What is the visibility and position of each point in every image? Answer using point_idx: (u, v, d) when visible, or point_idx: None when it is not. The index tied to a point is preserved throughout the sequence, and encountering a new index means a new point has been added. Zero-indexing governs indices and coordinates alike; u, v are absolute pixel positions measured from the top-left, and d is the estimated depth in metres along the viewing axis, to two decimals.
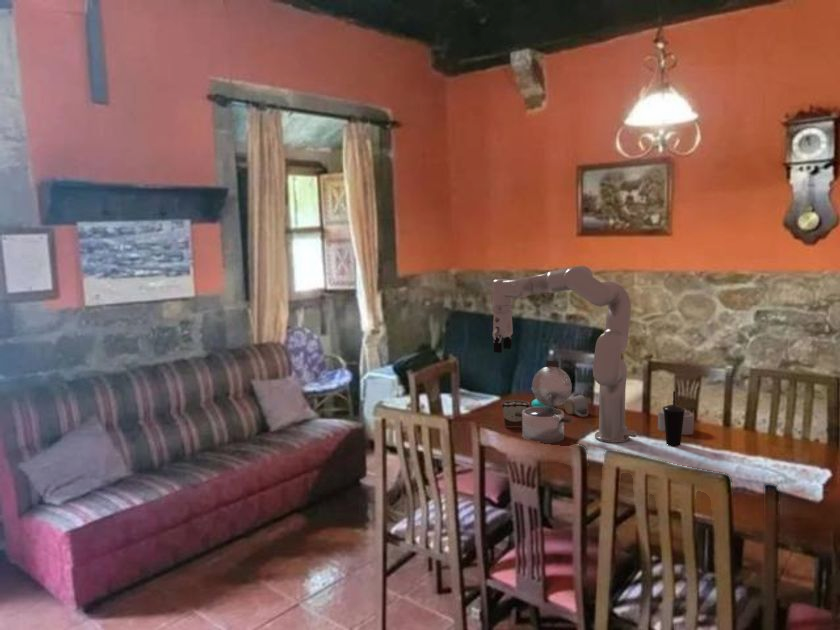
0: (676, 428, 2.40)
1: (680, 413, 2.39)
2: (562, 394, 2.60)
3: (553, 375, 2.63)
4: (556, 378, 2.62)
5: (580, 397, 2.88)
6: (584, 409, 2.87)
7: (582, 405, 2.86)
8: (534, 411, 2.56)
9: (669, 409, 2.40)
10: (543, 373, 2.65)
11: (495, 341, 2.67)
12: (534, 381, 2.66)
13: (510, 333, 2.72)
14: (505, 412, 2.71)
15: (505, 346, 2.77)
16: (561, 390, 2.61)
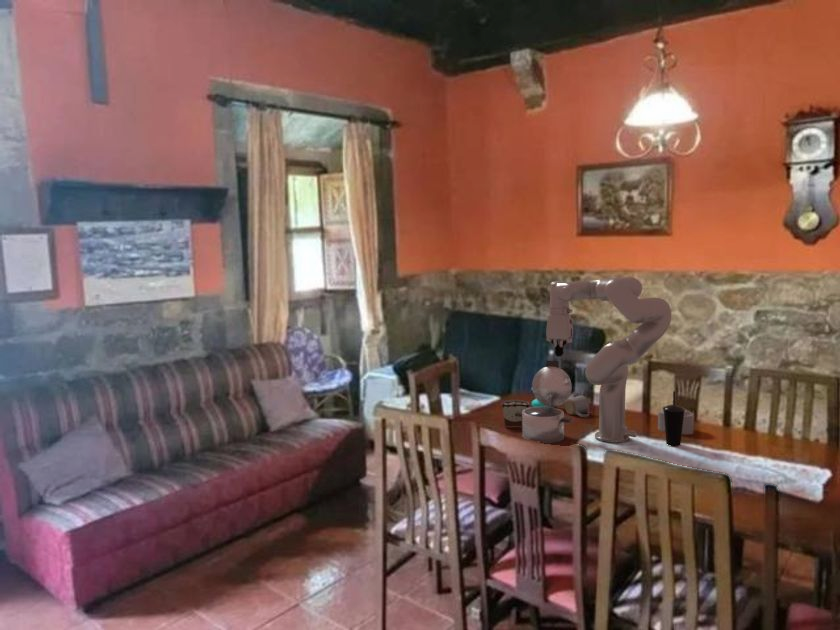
0: (676, 428, 2.40)
1: (680, 413, 2.39)
2: (562, 394, 2.60)
3: (553, 375, 2.63)
4: (556, 378, 2.62)
5: (581, 397, 2.88)
6: (585, 409, 2.86)
7: (583, 405, 2.85)
8: (534, 411, 2.56)
9: (669, 409, 2.40)
10: (543, 373, 2.65)
11: None
12: (534, 381, 2.66)
13: None
14: (505, 412, 2.71)
15: None
16: (561, 390, 2.61)
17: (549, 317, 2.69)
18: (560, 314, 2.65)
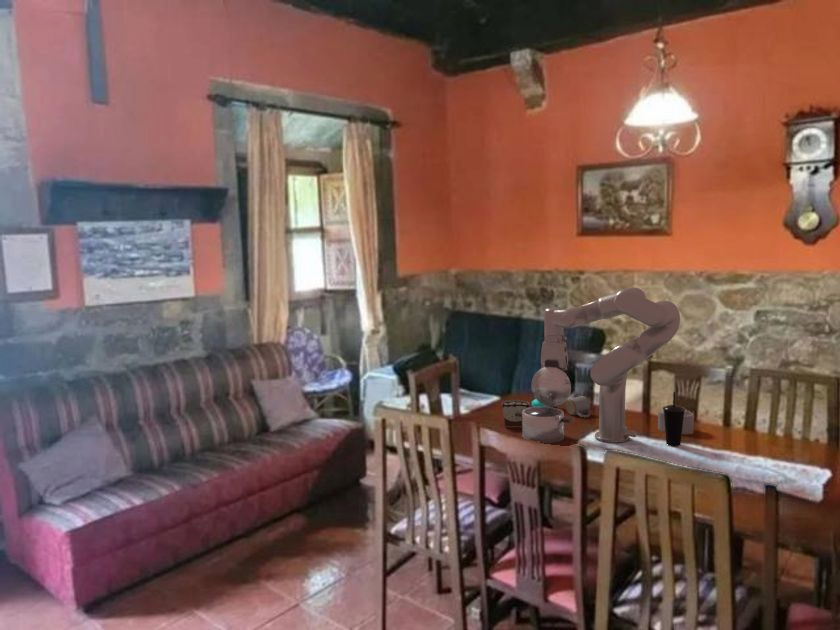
0: (676, 428, 2.40)
1: (680, 413, 2.39)
2: (561, 394, 2.60)
3: (552, 375, 2.61)
4: (555, 378, 2.61)
5: (582, 398, 2.87)
6: (586, 410, 2.86)
7: (584, 406, 2.85)
8: (534, 411, 2.56)
9: (669, 409, 2.40)
10: (542, 373, 2.64)
11: None
12: (533, 381, 2.66)
13: None
14: (505, 412, 2.71)
15: None
16: (560, 390, 2.60)
17: (543, 344, 2.64)
18: (554, 342, 2.60)
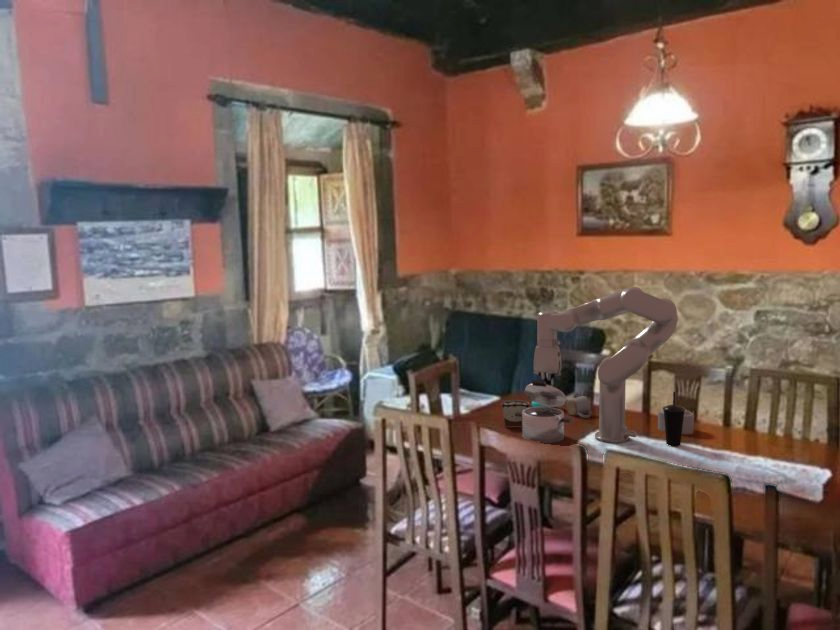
0: (676, 428, 2.40)
1: (680, 413, 2.39)
2: (558, 401, 2.56)
3: (543, 390, 2.53)
4: (547, 392, 2.54)
5: (583, 398, 2.86)
6: (587, 410, 2.85)
7: (585, 406, 2.84)
8: (534, 411, 2.56)
9: (669, 409, 2.40)
10: (533, 389, 2.55)
11: (552, 378, 2.57)
12: (526, 392, 2.59)
13: None
14: (505, 412, 2.71)
15: None
16: (556, 399, 2.56)
17: (536, 349, 2.57)
18: (548, 346, 2.54)
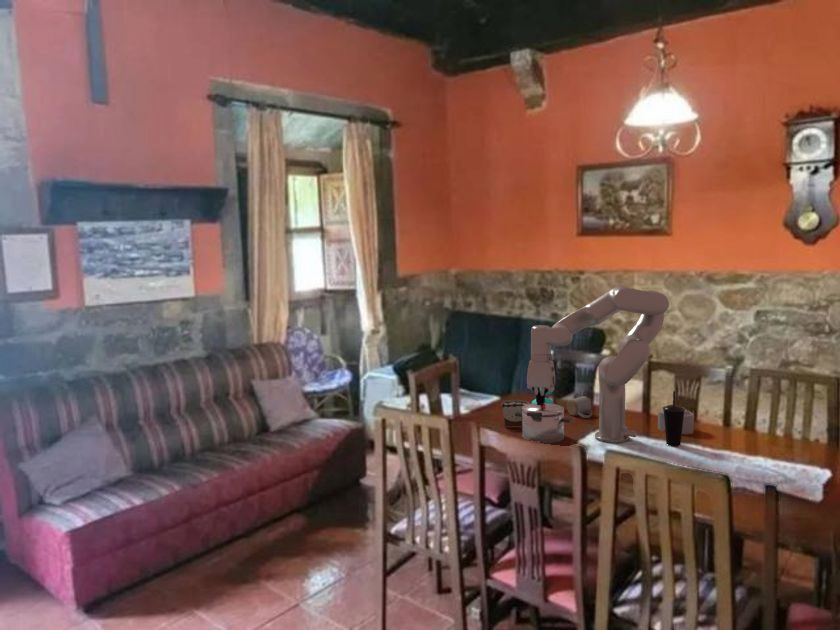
0: (676, 428, 2.40)
1: (680, 413, 2.39)
2: None
3: None
4: None
5: (583, 398, 2.86)
6: (587, 410, 2.85)
7: (585, 406, 2.84)
8: None
9: (669, 409, 2.40)
10: None
11: (545, 393, 2.52)
12: None
13: None
14: (505, 412, 2.71)
15: None
16: None
17: (530, 363, 2.52)
18: (541, 361, 2.48)
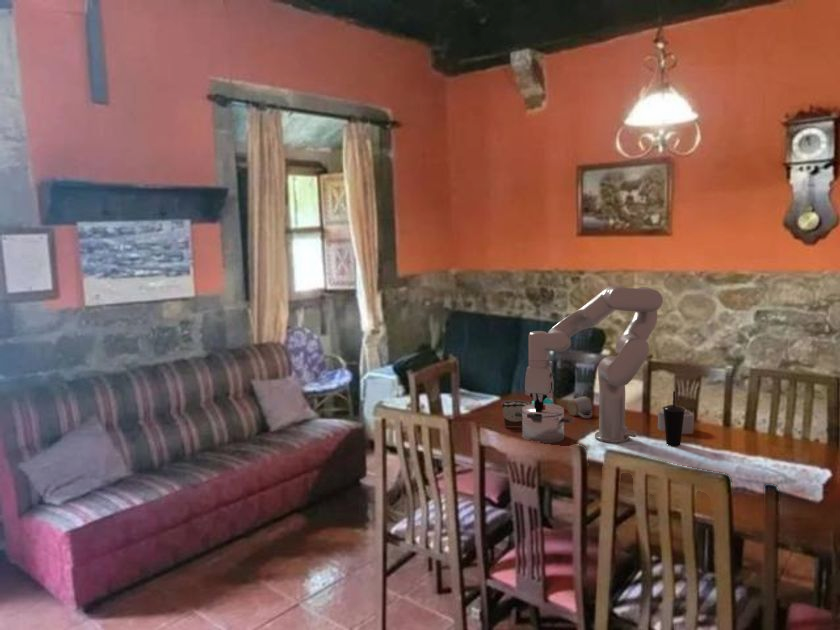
0: (676, 428, 2.40)
1: (680, 413, 2.39)
2: None
3: None
4: None
5: (584, 398, 2.86)
6: (588, 410, 2.85)
7: (586, 406, 2.84)
8: None
9: (669, 409, 2.40)
10: None
11: (544, 399, 2.51)
12: None
13: None
14: (505, 412, 2.71)
15: None
16: None
17: (528, 370, 2.50)
18: (539, 367, 2.47)
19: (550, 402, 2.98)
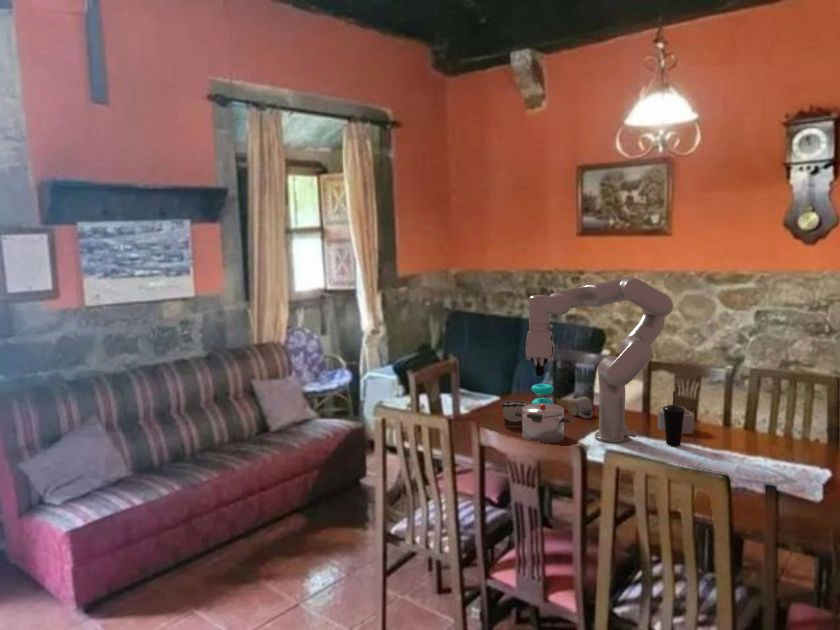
0: (676, 428, 2.40)
1: (680, 413, 2.39)
2: None
3: None
4: None
5: (584, 398, 2.86)
6: (588, 410, 2.84)
7: (586, 406, 2.83)
8: None
9: (669, 409, 2.40)
10: None
11: (545, 363, 2.49)
12: None
13: None
14: (505, 412, 2.71)
15: None
16: None
17: (528, 334, 2.49)
18: (540, 331, 2.45)
19: (550, 402, 2.98)
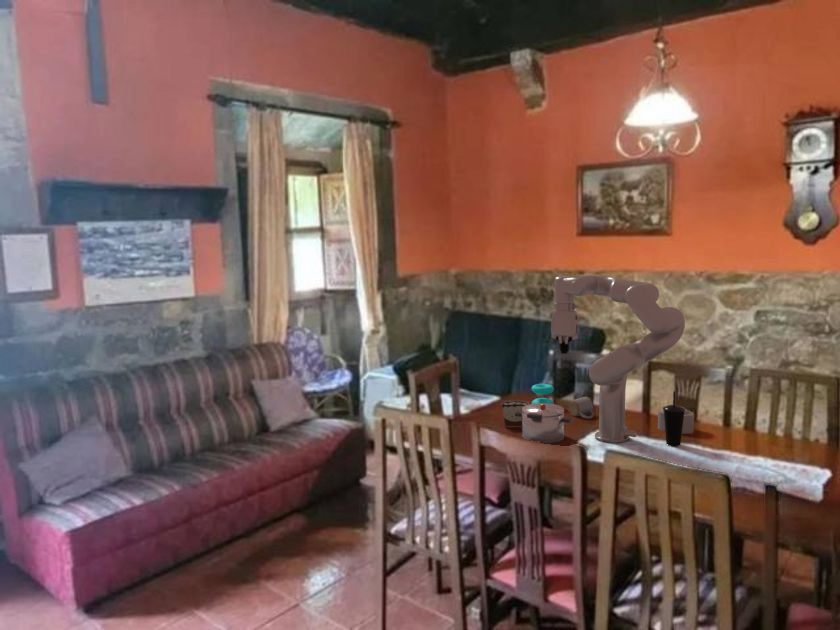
0: (676, 428, 2.40)
1: (680, 413, 2.39)
2: None
3: None
4: None
5: (585, 399, 2.85)
6: (589, 411, 2.84)
7: (587, 407, 2.83)
8: None
9: (669, 409, 2.40)
10: None
11: (569, 341, 2.61)
12: None
13: None
14: (505, 412, 2.71)
15: None
16: None
17: (554, 313, 2.61)
18: (565, 310, 2.57)
19: (550, 402, 2.98)
